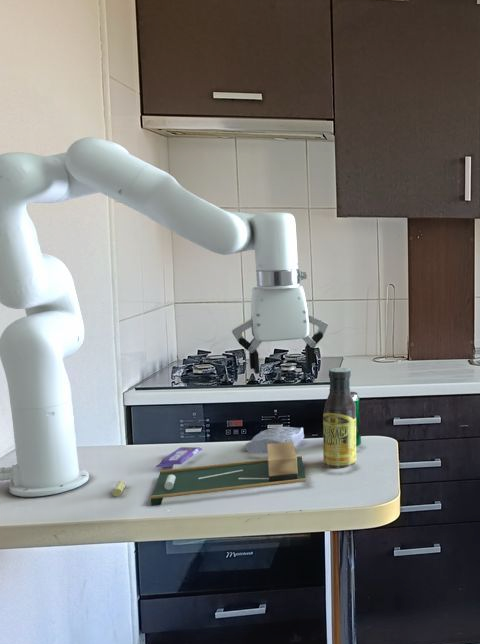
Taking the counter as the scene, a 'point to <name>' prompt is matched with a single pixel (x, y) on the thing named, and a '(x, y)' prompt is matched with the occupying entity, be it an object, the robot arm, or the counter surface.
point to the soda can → (357, 417)
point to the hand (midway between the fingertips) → (283, 369)
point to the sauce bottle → (339, 422)
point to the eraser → (282, 461)
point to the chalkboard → (219, 478)
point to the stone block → (274, 438)
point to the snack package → (178, 456)
